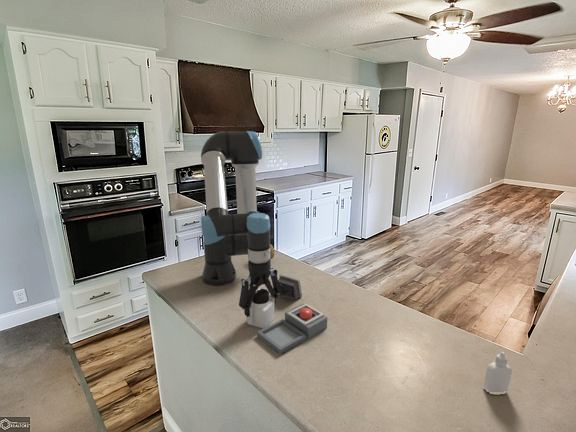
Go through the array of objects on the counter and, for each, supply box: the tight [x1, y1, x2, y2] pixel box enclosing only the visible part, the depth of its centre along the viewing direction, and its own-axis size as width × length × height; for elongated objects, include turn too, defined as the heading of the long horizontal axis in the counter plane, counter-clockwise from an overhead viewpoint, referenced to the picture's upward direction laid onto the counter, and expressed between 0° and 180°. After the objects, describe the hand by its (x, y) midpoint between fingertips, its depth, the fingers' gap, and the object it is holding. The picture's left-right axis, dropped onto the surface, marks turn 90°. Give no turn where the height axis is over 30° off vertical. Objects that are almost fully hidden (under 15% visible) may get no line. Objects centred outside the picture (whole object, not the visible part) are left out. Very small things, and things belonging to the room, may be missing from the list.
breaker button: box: [299, 308, 312, 321], centre depth 114 cm, size 4×4×4 cm
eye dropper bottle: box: [483, 351, 513, 392], centre depth 85 cm, size 4×6×12 cm
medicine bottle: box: [247, 288, 275, 329], centre depth 115 cm, size 7×7×12 cm
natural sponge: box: [270, 243, 276, 260], centre depth 165 cm, size 9×9×10 cm
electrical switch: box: [278, 273, 303, 301], centre depth 132 cm, size 9×5×9 cm, turn 57°
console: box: [256, 303, 328, 356], centre depth 110 cm, size 12×21×5 cm, turn 131°
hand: (261, 317), depth 116 cm, fingers closed on medicine bottle, 9 cm apart
